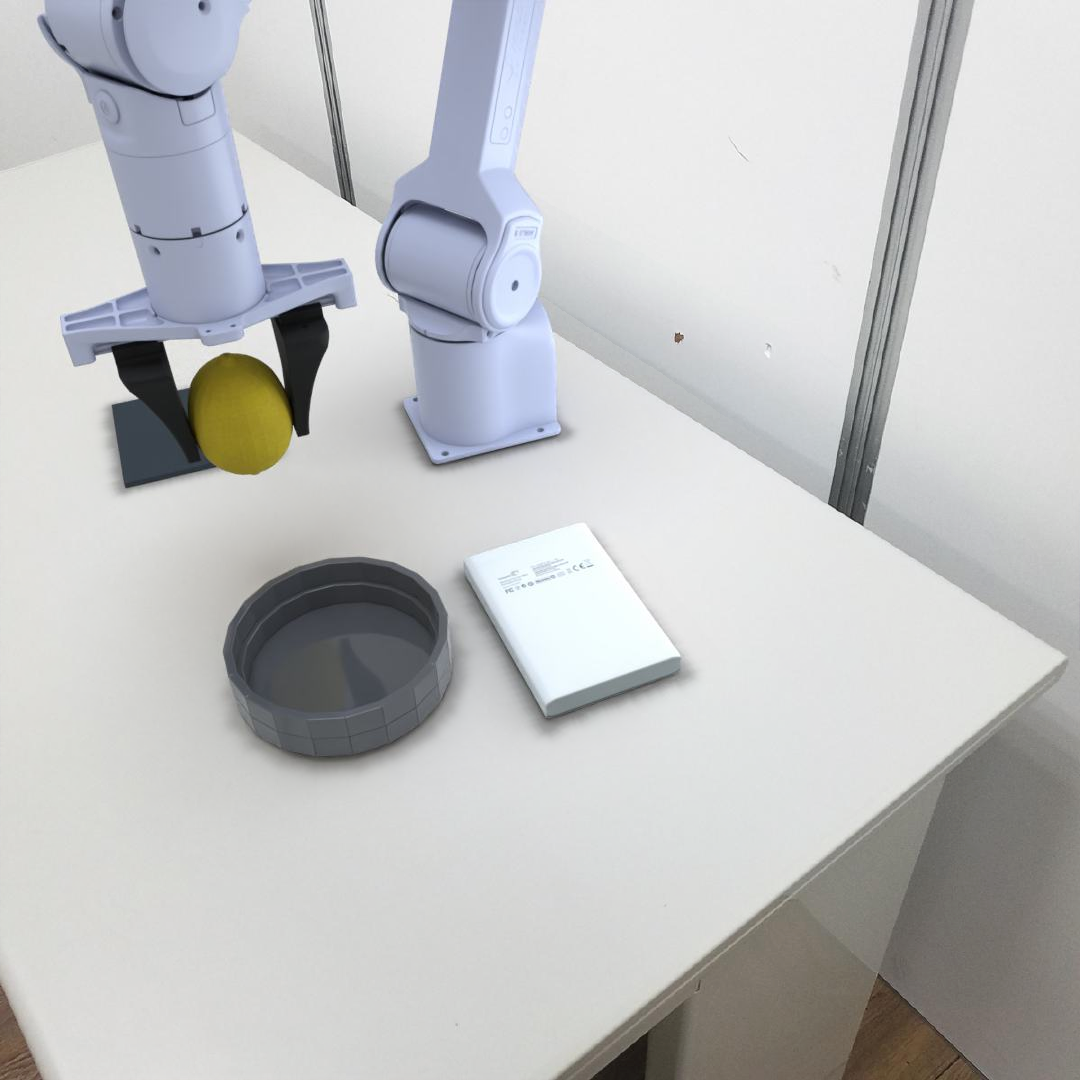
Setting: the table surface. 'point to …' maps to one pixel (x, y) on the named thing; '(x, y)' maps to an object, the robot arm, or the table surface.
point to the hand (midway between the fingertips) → (246, 439)
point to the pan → (339, 655)
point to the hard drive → (570, 619)
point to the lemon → (239, 414)
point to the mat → (150, 444)
